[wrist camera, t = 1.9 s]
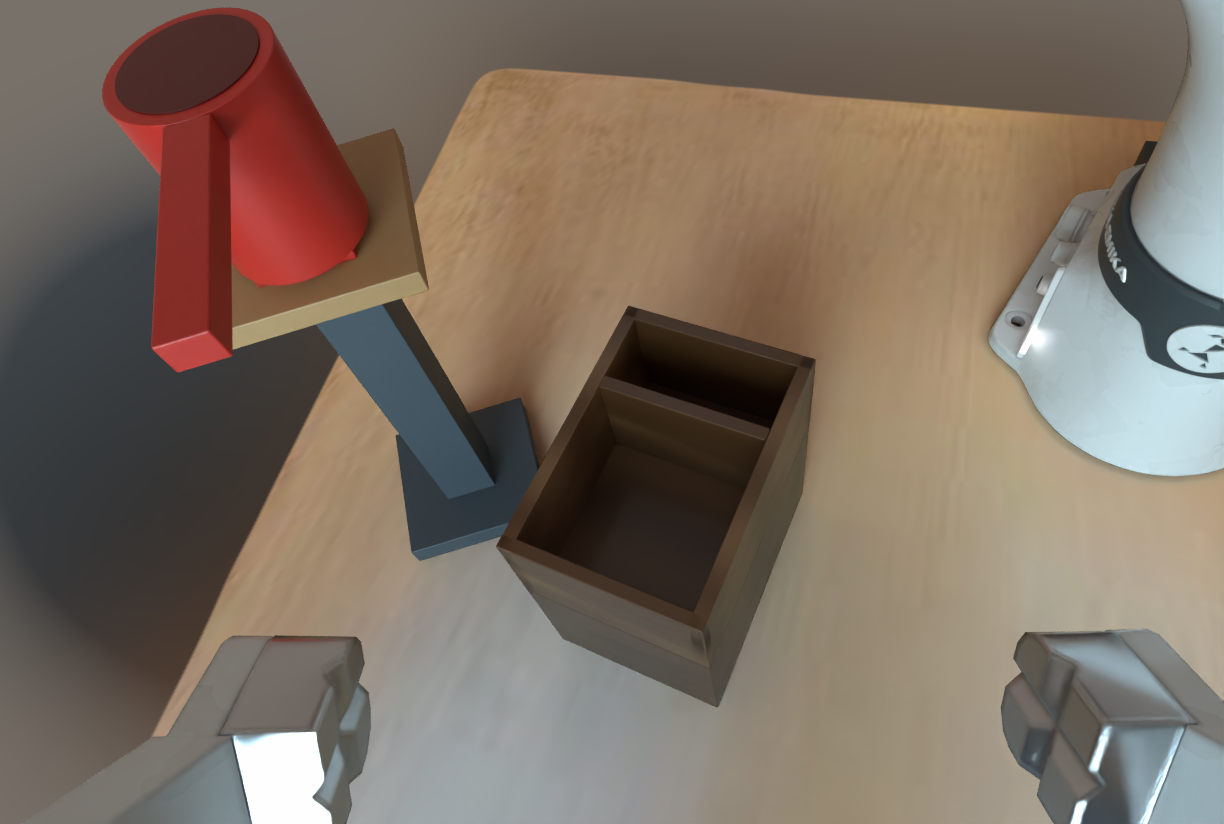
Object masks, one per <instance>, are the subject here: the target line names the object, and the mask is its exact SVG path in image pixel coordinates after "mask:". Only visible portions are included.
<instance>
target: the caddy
mask: <svg viewBox="0 0 1224 824" xmlns="http://www.w3.org/2000/svg"><path fill="white" fill-rule="evenodd" d="M815 364H816V360H815V359H813V358H809V357H806V356H802V355H799V354H795V353H792V352H788V351H785V350H781V349H778V348H774V347H771V346H767V345H764V344H760V343H757V342H753V341H750V340H746V339H743V338H739V337H736V336H732V335H729V334H725V333H722V332H718V331H715V330H711V329H708V328H704V327H701V326H697V325H694V324H690V323H687V322H683V321H680V320H677V319H673V318H670V317H666V316H663V315H659V314H656V313H652V312H649V311H645V310H642V309H638V308H635V307H631V306H628V307H627V309H626V311H625V313H624V315H623V316H622V318H621V320H620V322H619V324H618V325H617V327H616V329H615V331H614V333H613V335H612V336H611V338H610V340H609V342H608V344H607V345H606V347H605V349H604V351H603V353H602V355H601V356H600V358H599V360H598V362H597V364H596V365H595V367H594V369H593V371H592V373H591V375H590V376H589V378H588V380H587V382H586V384H585V385H584V387H583V389H582V391H581V393H580V395H579V396H578V398H577V400H576V402H575V404H574V405H573V407H572V409H571V411H570V413H569V415H568V416H567V418H566V420H565V422H564V424H563V425H562V427H561V429H560V431H559V433H558V435H557V436H556V438H555V440H554V442H553V444H552V445H551V447H550V449H549V451H548V453H547V455H546V456H545V458H544V460H543V462H542V464H541V465H540V467H539V469H538V471H537V473H536V475H535V476H534V478H533V480H532V482H531V484H530V485H529V487H528V489H527V491H526V493H525V495H524V496H523V498H522V500H521V502H520V504H519V505H518V507H517V509H516V511H515V513H514V515H513V516H512V518H511V520H510V522H509V524H508V525H507V527H506V529H505V531H504V533H503V535H502V536H501V538H500V540H499V542H498V544H497V545H496V547H497V549H498V550H499V551H500V553H501V554H502V556H503V557H504V558H505V560H506V561H507V562H508V564H509V565H510V567H511V568H512V569H513V571H514V572H515V573H516V575H517V576H518V578H519V579H520V580H521V582H522V583H523V584H524V586H525V587H526V589H527V590H528V591H529V592H530V594H531V595H532V596H533V598H534V599H535V601H536V602H537V603H538V605H539V606H540V607H541V609H542V610H543V612H544V613H545V614H546V616H547V617H548V619H549V620H550V621H551V623H552V624H553V625H554V627H555V628H556V630H557V631H558V632H559V634H560V635H561V636H562V638H563V639H565V640H567V641H570V642H572V643H574V644H576V645H578V646H581V647H583V648H585V649H587V650H590V651H592V652H594V653H596V654H599V655H601V656H603V657H605V658H608V659H610V660H612V661H614V662H616V663H619V664H621V665H623V666H625V667H628V668H630V669H632V670H634V671H637V672H639V673H641V674H643V675H645V676H648V677H650V678H652V679H654V680H657V681H659V682H661V683H663V684H666V685H668V686H670V687H672V688H675V689H677V690H679V691H681V692H683V693H686V694H688V695H690V696H692V697H695V698H697V699H699V700H701V701H704V702H706V703H708V704H710V705H712V706H715V707H718V706H719V704H720V701H721V699H722V696H723V694H724V691H725V688H726V686H727V683H728V681H729V678H730V676H731V673H732V671H733V668H734V666H735V663H736V660H737V658H738V655H739V653H740V650H741V648H742V645H743V643H744V640H745V638H746V635H747V632H748V630H749V627H750V625H751V622H752V620H753V617H754V615H755V612H756V609H757V607H758V604H759V602H760V599H761V597H762V594H763V592H764V589H765V587H766V584H767V581H768V579H769V576H770V574H771V571H772V569H773V566H774V564H775V561H776V559H777V556H778V553H779V551H780V548H781V546H782V543H783V541H784V538H785V536H786V533H787V530H788V528H789V525H790V523H791V520H792V518H793V515H794V513H795V510H796V508H797V505H798V502H799V500H800V497H801V495H802V491H803V481H804V472H805V462H806V452H807V442H808V432H809V422H810V413H811V403H812V394H813V384H814V374H815Z"/></svg>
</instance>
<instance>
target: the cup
mask: <svg viewBox="0 0 1224 824" xmlns="http://www.w3.org/2000/svg"><path fill="white" fill-rule="evenodd" d="M102 98H103V103H104V106H105V108H106V110H107V111H108V112H109V114H110V115H111V116H112V117H113V118H114V120H115V121H116V122H117V123H118V125H119V126H120V127H121V128H122V130H123V131H124V132H125V133H126V134H127V136H128V137H129V138H130V139H131V140H132V142H133V143H134V144H135V145H136V147H137V148H138V149H139V150H140V152H141V153H142V154H143V155H144V156H145V157H146V159H147V160H148V161H149V163H150V164H151V165H152V166H153V167H154V169H155V170H156V171H157V172H158V174H159V175H160V191H159V210H158V229H157V249H156V267H155V286H154V305H153V324H152V344H151V347H152V349H153V350H154V351H155V352H156V353H157V354H158V355H159V356H160V357H161V358H162V359H163V360H164V361H166V362H167V363H168V364H169V365H170V366H171V367H172V368H173V369H174V370H175V371H177V372H181V371H185V370H188V369H191V368H195V367H198V366H201V365H204V364H208V363H211V362H214V361H218V360H221V359H224V358H227V357H231V356H232V355H233V334H232V264H233V265H234V267H235V268H236V269H237V270H238V271H239V273H241V274H242V275H243V276H244V277H246V278H248V279H250V280H252V281H254V283H255V284H256V285H257V286H258V287H263V286H266V285H289V284H295V283H299V282H303V281H306V280H309V279H311V278H314V277H316V276H318V275H320V274H322V273H324V272H326V271H328V270H329V269H331V268H333V267H334V266H335V265H337V264H339V263H342V262H346V261H349V260H352V259H356V258H357V254H356V245H357V244H358V242H359V241H360V239H361V238H362V236H363V234H364V231H365V229H366V226H367V223H368V216H369V208H368V203H367V200H366V198H365V195H364V194H363V192H362V190H361V188H360V186H359V185H358V183H357V181H356V179H355V177H354V175H353V174H352V172H351V170H350V168H349V166H348V165H347V163H346V161H345V159H344V157H343V156H342V154H341V152H340V150H339V148H338V147H337V145H336V143H335V141H334V139H333V138H332V136H331V134H330V132H329V130H328V129H327V127H326V125H325V123H324V121H323V120H322V118H321V116H320V114H319V112H318V110H317V109H316V107H315V105H314V103H313V101H312V100H311V98H310V96H309V94H308V92H307V91H306V89H305V87H304V85H303V83H302V82H301V80H300V78H299V76H298V74H297V73H296V71H295V69H294V67H293V65H292V63H291V62H290V60H289V58H288V56H287V55H286V53H285V51H284V49H283V47H282V45H281V44H280V42H279V40H278V38H277V37H276V35H275V33H274V31H273V29H272V27H271V26H270V24H269V23H268V22H267V21H266V20H265V19H264V18H263V17H261V16H260V15H258V14H256V13H254V12H251V11H248V10H244V9H240V8H213V9H207V10H201V11H197V12H193V13H190V14H187V15H184V16H181V17H178V18H176V19H173V20H171V21H168V22H166V23H164V24H162V25H160V26H158V27H157V28H155V29H153V30H151V31H150V32H148V33H147V34H145V35H144V36H142V37H141V38H139V39H138V40H137V41H135V42H134V43H133V44H132V45H131V46H129V47H128V48H127V49H126V50H125V51H124V52H123V53H122V54H121V55H120V56H119V58H118V59H117V60H116V61H115V63H114V64H113V65H112V67H111V68H110V70H109V72H108V74H107V76H106V78H105V81H104V84H103V89H102Z"/></svg>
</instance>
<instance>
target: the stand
mask: <svg viewBox="0 0 1224 824" xmlns="http://www.w3.org/2000/svg"><path fill="white" fill-rule="evenodd" d="M337 147H338V148H339V150H340V152H341V154H342V156H343V157H344V159H345V161H346V163H347V165H348V166H349V168H350V170H351V172H352V174H353V175H354V177H355V179H356V181H357V183H358V185H359V186H360V188H361V190H362V192H363V194H364V195H365V198H366V200H367V203H368V208H369V216H368V223H367V226H366V229H365V231H364V234H363V236H362V238H361V239H360V241H359V242H358V244H357V245H356V254H357V258H356V259H352V260H349V261H346V262H342V263H339V264H337V265H335V266H334V267H333V268H331V269H329V270H328V271H326V272H324V273H322V274H320V275H318V276H316V277H314V278H311V279H309V280H306V281H303V282H299V283H295V284H289V285H266V286H263V287H258V286H257V285H256V284H255V283H254V281H252V280H250V279H248V278H246V277H244V276H243V275H242V274H241V273H239V271H238V270H237V269H236V268H235V267H234V265H233V264H232V334H233V349H236V348H239V347H242V346H246V345H249V344H253V343H256V342H259V341H262V340H266V339H269V338H272V337H276V336H279V335H282V334H286V333H289V332H292V331H295V330H299V329H302V328H305V327H309V326H312V325H315V324H316V325H317V326H318V327H319V329H320V330H321V331H322V333H323V334H324V335H325V337H326V338H327V339H328V341H329V342H330V343H331V344H332V346H333V347H334V348H335V350H336V351H337V353H338V354H339V355H340V356H341V358H342V359H343V360H344V362H345V363H346V364H347V366H348V367H349V368H350V370H351V371H352V372H353V374H354V375H355V376H356V378H357V379H358V380H359V382H360V383H361V384H362V385H363V387H364V388H365V389H366V391H367V392H368V393H369V395H370V396H371V397H372V399H373V400H374V401H375V403H376V404H377V405H378V407H379V408H380V409H381V411H382V412H383V413H384V415H385V416H386V417H387V418H388V420H389V421H390V422H391V424H392V425H393V426H394V428H395V429H396V430H397V432H398V433H399V435H396V441H397V448H398V456H399V463H400V470H401V478H402V485H403V492H404V500H405V507H406V514H407V522H408V529H409V536H410V544H411V551H412V553H413V554H414V555H415V556H416V557H417V558H418V559H419V560H420V561H421V560H424V559H427V558H431V557H434V556H437V555H440V554H444V553H447V552H450V551H454V550H457V549H460V548H463V547H467V546H470V545H473V544H477V543H480V542H483V541H486V540H490V539H493V538H496V537H500V536H502V535H503V533H504V531H505V529H506V527H507V525H508V524H509V522H510V520H511V518H512V516H513V515H514V513H515V511H516V509H517V507H518V505H519V504H520V502H521V500H522V498H523V496H524V495H525V493H526V491H527V489H528V487H529V485H530V484H531V482H532V480H533V478H534V476H535V475H536V473H537V471H538V469H539V463H538V459H537V455H536V450H535V446H534V442H533V438H532V434H531V430H530V425H529V421H528V417H527V413H526V409H525V407H524V404H523V402H522V400H521V398H518V399H514V400H511V401H508V402H504V403H501V404H498V405H495V406H491V407H488V408H485V409H481V410H478V411H475V412H471V413H468V411H467V410H466V408H465V406H464V404H463V403H462V401H461V399H460V398H459V396H458V394H457V393H456V391H455V389H454V387H453V386H452V384H451V382H450V381H449V379H448V377H447V376H446V374H445V372H444V370H443V369H442V367H441V365H440V364H439V362H438V360H437V358H436V357H435V355H434V353H433V352H432V350H431V348H430V347H429V345H428V343H427V341H426V340H425V338H424V336H423V335H422V333H421V331H420V329H419V328H418V326H417V324H416V323H415V321H414V319H413V318H412V316H411V314H410V312H409V311H408V309H407V307H406V306H405V304H404V302H403V301H402V299H401V298H405V297H408V296H411V295H414V294H418V293H421V292H424V291H428V290H429V286H428V281H427V275H426V270H425V264H424V259H423V253H422V248H421V242H420V237H419V231H418V226H417V220H416V215H415V209H414V204H413V198H412V193H411V188H410V182H409V176H408V171H407V166H406V160H405V154H404V149H403V146H402V144H401V142H400V140H399V137H398V135H397V133H396V131H395V129H390V130H387V131H383V132H380V133H377V134H373V135H370V136H367V137H364V138H360V139H357V140H354V141H350V142H347V143H344V144H340V145H337Z"/></svg>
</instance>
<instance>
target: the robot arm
mask: <svg viewBox="0 0 1224 824" xmlns="http://www.w3.org/2000/svg"><path fill="white" fill-rule="evenodd" d="M1180 2H1181V5H1182V8H1183V12H1184V15H1185V18H1186V24H1187V30H1188V54H1187V64H1186V69H1185V74H1184V77H1183V80H1182V83H1181V86H1180V89H1179V91H1178V94H1177V97H1176V99H1175V102H1174V105H1173V107H1172V110H1171V112H1170V115H1169V117H1168V120H1167V122H1166V124H1165V127H1164V129H1163V131H1162V134H1161V136H1160V138H1159V140H1158V142H1154V141H1146V142H1145V144H1144V146H1143V148H1142V150H1141V152H1140V154H1139V156H1138V158H1137V160H1136V162H1135V164H1134V166H1133V167H1130V168H1128V169H1125V170H1124V171H1122V172H1120V173H1119V175H1118V177H1117V178H1116V180H1115V182H1114V184H1113V185H1112V187H1111V189H1101V190H1094V191H1088V192H1084V193H1080V194H1078V195H1076V196H1075V197H1074V198H1073V199H1072V201H1071V202H1070V204H1069V205H1068V207H1067V208H1066V210H1065V211H1064V213H1063V215H1062V216H1061V218H1060V220H1059V221H1058V223H1057V224H1056V226H1055V228H1054V229H1053V231H1052V232H1051V234H1050V236H1049V237H1048V239H1047V240H1046V242H1045V244H1044V245H1043V247H1042V248H1041V250H1040V252H1039V253H1038V255H1037V256H1036V258H1035V260H1034V261H1033V263H1032V264H1031V266H1030V268H1029V269H1028V271H1027V273H1026V274H1025V276H1024V277H1023V279H1022V281H1021V282H1020V284H1019V285H1018V287H1017V289H1016V290H1015V292H1014V293H1013V295H1012V297H1011V298H1010V300H1009V301H1008V303H1007V305H1006V306H1005V308H1004V309H1003V311H1002V313H1001V314H1000V316H999V317H998V319H997V321H996V322H995V324H994V325H993V327H992V329H991V330H990V332H989V335H988V343H989V345H990V346H991V348H992V349H993V350H994V352H995V353H996V354H997V355H998V356H999V357H1000V358H1001V359H1003V360H1004V361H1005V362H1006V363H1007V364H1008V365H1009V366H1010V367H1012V368H1013V369H1014V370H1015V371H1016V372H1017V373H1018V375H1019V376H1020V378H1021V379H1022V381H1023V383H1024V385H1025V387H1026V389H1027V391H1028V393H1029V395H1030V397H1031V399H1032V401H1033V403H1034V404H1035V406H1036V408H1037V409H1038V410H1039V412H1040V413H1041V414H1042V416H1043V417H1044V418H1045V419H1046V421H1047V422H1048V423H1049V424H1050V425H1051V426H1052V427H1053V428H1054V429H1055V430H1056V431H1057V432H1058V433H1059V434H1061V435H1062V436H1063V437H1064V438H1065V439H1067V440H1068V441H1069V442H1071V443H1072V444H1074V445H1075V446H1077V447H1078V448H1080V449H1081V450H1083V451H1085V452H1087V453H1088V454H1090V455H1092V456H1094V457H1096V458H1098V459H1100V460H1103V461H1105V462H1107V463H1110V464H1112V465H1115V466H1118V467H1121V468H1124V469H1128V470H1132V471H1136V472H1141V473H1146V474H1152V475H1162V476H1188V475H1197V474H1203V473H1208V472H1212V471H1215V470H1219V469H1222V468H1224V0H1180ZM1012 323H1018V324H1020V325H1021V327H1017V326H1014V325H1013V324H1012ZM1013 659H1014V660H1015V662H1016V664H1017V665H1018V667H1019V668H1020V670H1021V673H1020V674H1019V675H1018V676H1017V677H1015V678H1014V679H1013V680H1012V681H1011V682H1010V683H1009V684H1008V685H1007V686H1006V687H1005V691H1004V696H1003V700H1002V705H1001V715H1002V725H1003V732H1004V735H1005V738H1006V741H1007V744H1008V747H1009V749H1010V751H1011V752H1012V754H1013V756H1014V758H1015V759H1016V761H1017V763H1018V765H1020V766H1021V767H1022V768H1024V769H1025V770H1027V771H1028V772H1030V773H1031V774H1033V775H1034V776H1035V777H1037V778H1038V779H1040V784H1039V788H1038V792H1037V797H1038V798H1039V800H1040V802H1041V803H1042V805H1043V807H1044V808H1045V810H1046V812H1047V813H1048V815H1049V817H1050V818H1051V820H1052V822H1053V823H1054V824H1224V701H1223V700H1222V699H1221V698H1220V697H1219V696H1218V695H1217V694H1216V693H1215V692H1214V691H1213V690H1212V689H1211V688H1210V687H1209V686H1208V685H1207V684H1206V683H1205V682H1204V681H1203V680H1202V679H1201V678H1200V676H1199V675H1198V674H1197V673H1196V672H1195V671H1194V670H1193V669H1192V668H1191V667H1190V666H1189V665H1188V664H1187V663H1186V662H1185V661H1184V660H1183V659H1182V658H1181V657H1180V656H1179V655H1178V654H1177V653H1176V652H1175V650H1174V649H1173V648H1172V647H1171V646H1170V645H1169V644H1168V643H1167V642H1166V641H1165V640H1164V639H1163V638H1162V637H1161V636H1160V635H1158V634H1157V633H1155V632H1153V631H1150V630H1148V629H1124V630H1106V631H1078V632H1025V633H1024V635H1023V636H1022V637H1021V638H1020V640H1019V641H1018V643H1017V646H1016V650H1015V653H1014V657H1013ZM364 664H365V662H364V657H363V651H362V645H361V641H360V640H359V639H358V638H357V637H337V636H274V637H272V636H232V637H230V638H228V639H227V640H225V641H224V642H223V643H222V644H221V646H220V648H219V649H218V651H217V653H216V654H215V656H214V658H213V659H212V661H211V663H210V664H209V666H208V668H207V669H206V671H205V673H204V674H203V676H202V678H201V679H200V681H199V683H198V684H197V686H196V688H195V689H194V691H193V693H192V694H191V696H190V698H189V699H188V701H187V703H186V704H185V706H184V708H183V709H182V711H181V713H180V714H179V716H178V718H177V719H176V721H175V723H174V724H173V726H172V728H171V729H170V731H169V733H168V734H167V736H164V737H152V738H150V739H149V740H147V741H146V742H144V743H143V744H141V745H140V746H139V747H137V748H135V749H134V750H133V751H131V752H129V753H128V754H126V755H125V756H123V757H122V758H120V759H119V760H117V761H115V762H114V763H112V764H111V765H109V766H108V767H106V768H105V769H103V770H102V771H100V772H99V773H97V774H96V775H94V776H93V777H91V778H89V779H88V780H86V781H85V782H83V783H82V784H80V785H79V786H77V787H76V788H74V789H73V790H71V791H70V792H68V793H67V794H65V795H64V796H62V797H60V798H59V799H57V800H56V801H54V802H53V803H52V804H50V805H48V806H47V807H45V808H44V809H42V810H41V811H39V812H38V813H36V814H35V815H33V816H31V817H30V818H29V819H27V820H25V821H24V822H22V823H21V824H346V823H347V819H348V816H349V813H350V810H351V806H352V802H351V795H350V788H349V784H350V783H351V782H352V781H353V780H354V779H355V778H357V777H358V776H359V775H360V774H361V773H362V770H363V766H364V763H365V759H366V755H367V751H368V744H369V736H370V729H371V708H370V700H369V692H368V691H367V690H366V689H365V688H364V687H362V686H361V685H360V684H359V683H358V682H359V679H360V676H361V673H362V670H363V667H364Z"/></svg>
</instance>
